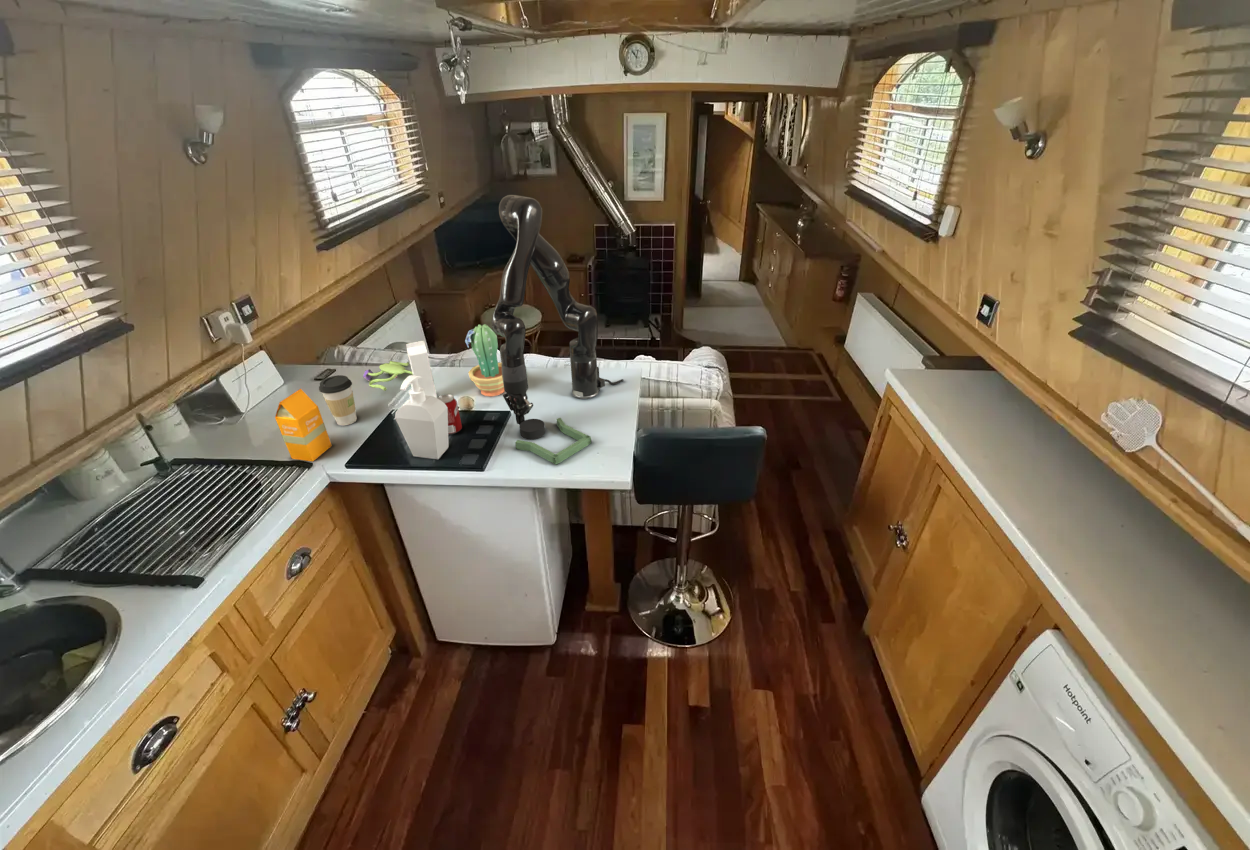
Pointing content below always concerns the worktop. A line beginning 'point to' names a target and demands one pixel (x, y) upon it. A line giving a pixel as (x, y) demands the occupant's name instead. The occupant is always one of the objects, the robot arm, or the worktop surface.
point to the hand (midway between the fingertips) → (520, 423)
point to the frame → (562, 455)
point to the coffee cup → (339, 398)
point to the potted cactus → (485, 361)
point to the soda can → (452, 413)
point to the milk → (421, 366)
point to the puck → (532, 429)
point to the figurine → (386, 368)
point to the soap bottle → (423, 421)
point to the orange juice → (302, 427)
